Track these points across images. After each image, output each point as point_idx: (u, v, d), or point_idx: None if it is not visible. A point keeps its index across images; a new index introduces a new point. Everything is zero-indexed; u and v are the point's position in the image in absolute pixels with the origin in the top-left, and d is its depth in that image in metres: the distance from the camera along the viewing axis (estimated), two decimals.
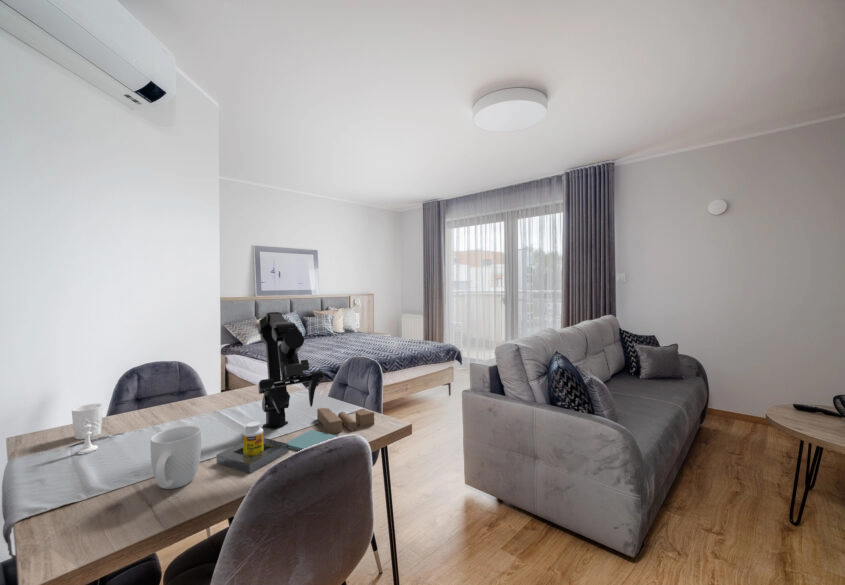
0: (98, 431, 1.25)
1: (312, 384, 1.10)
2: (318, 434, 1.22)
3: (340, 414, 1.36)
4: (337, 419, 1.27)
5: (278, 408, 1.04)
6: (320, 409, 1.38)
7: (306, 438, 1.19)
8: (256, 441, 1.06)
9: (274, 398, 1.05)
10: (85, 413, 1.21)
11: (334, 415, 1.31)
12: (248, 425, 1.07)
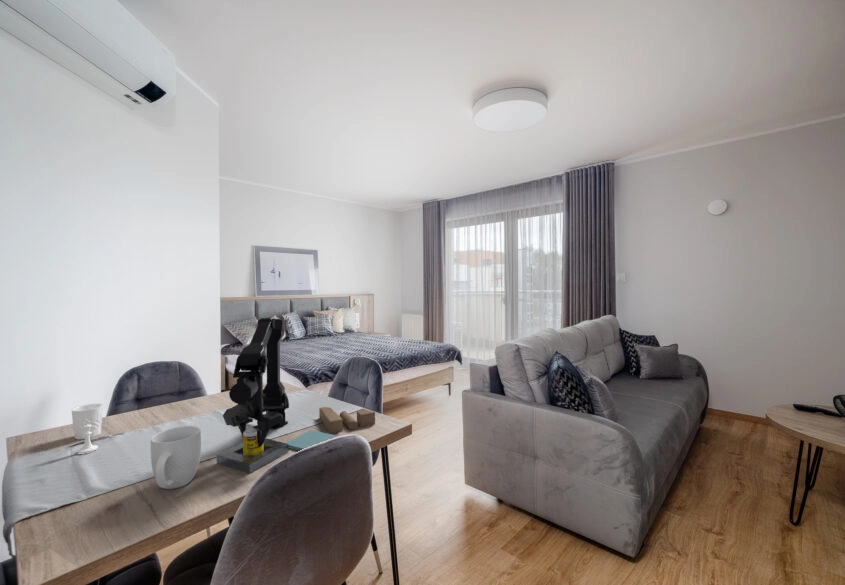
0: (98, 431, 1.25)
1: None
2: (318, 434, 1.22)
3: (341, 413, 1.37)
4: (338, 418, 1.28)
5: None
6: (322, 408, 1.39)
7: (306, 438, 1.19)
8: (256, 441, 1.06)
9: (240, 429, 1.08)
10: (85, 413, 1.21)
11: (335, 414, 1.32)
12: (248, 425, 1.07)
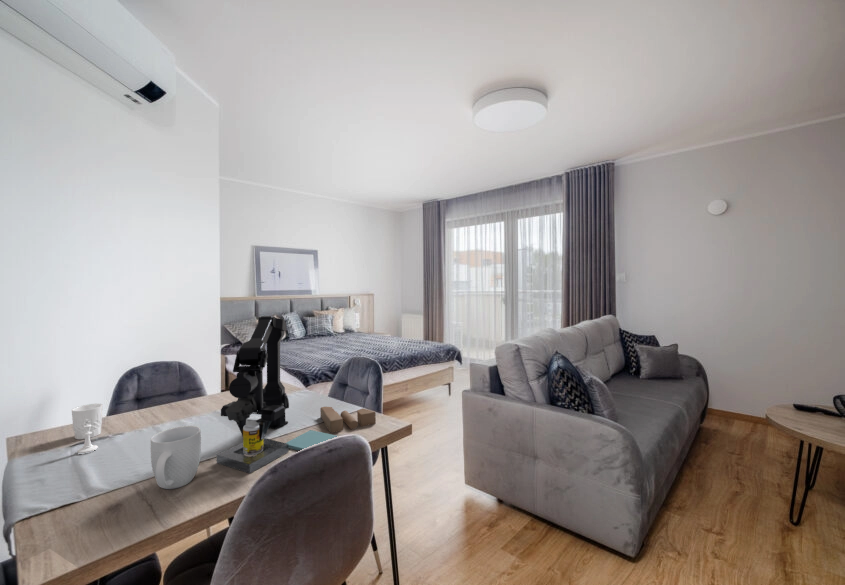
0: (98, 431, 1.25)
1: (258, 422, 1.05)
2: (318, 434, 1.22)
3: (342, 413, 1.37)
4: (338, 418, 1.28)
5: (242, 434, 1.08)
6: (323, 408, 1.39)
7: (306, 438, 1.19)
8: (258, 435, 1.06)
9: (238, 425, 1.07)
10: (85, 413, 1.21)
11: (336, 414, 1.32)
12: (248, 420, 1.06)
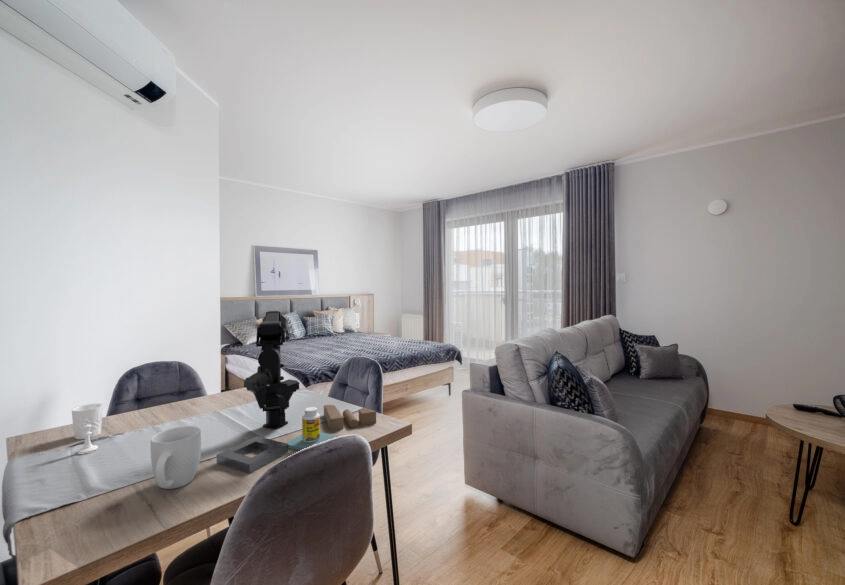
0: (98, 431, 1.25)
1: (278, 395, 1.09)
2: None
3: (344, 411, 1.39)
4: (339, 416, 1.30)
5: (259, 405, 1.15)
6: (326, 406, 1.42)
7: None
8: (315, 424, 1.16)
9: (255, 396, 1.15)
10: (85, 413, 1.21)
11: (337, 412, 1.34)
12: (307, 410, 1.16)
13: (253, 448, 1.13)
